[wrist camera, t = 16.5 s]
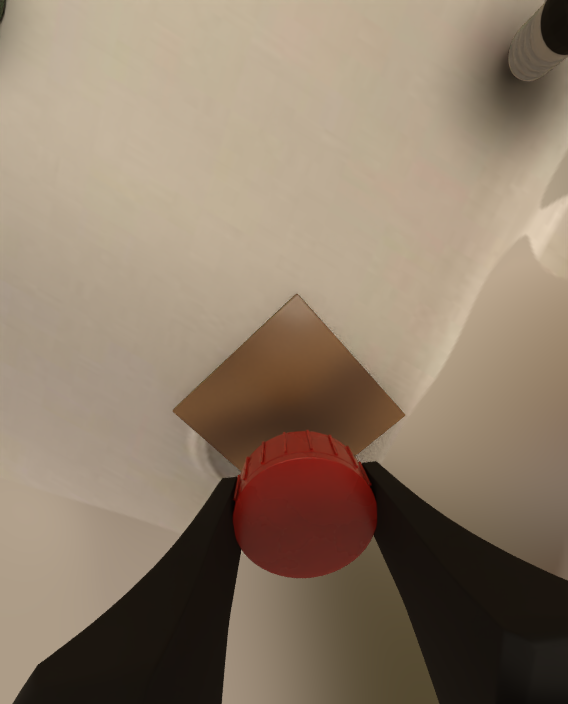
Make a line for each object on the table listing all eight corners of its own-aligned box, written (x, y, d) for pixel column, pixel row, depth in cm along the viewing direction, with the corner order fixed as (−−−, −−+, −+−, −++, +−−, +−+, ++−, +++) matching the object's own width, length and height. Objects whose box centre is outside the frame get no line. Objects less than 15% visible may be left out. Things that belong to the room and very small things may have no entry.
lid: (389, 482, 12) (410, 517, 10) (300, 557, 12) (304, 601, 11) (301, 402, 11) (307, 425, 9) (210, 489, 11) (199, 526, 10)
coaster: (174, 408, 18) (171, 411, 18) (296, 293, 17) (297, 293, 16) (286, 507, 20) (286, 511, 20) (403, 412, 19) (405, 415, 19)
